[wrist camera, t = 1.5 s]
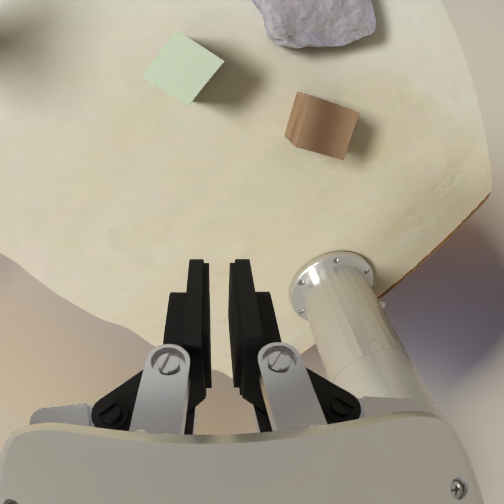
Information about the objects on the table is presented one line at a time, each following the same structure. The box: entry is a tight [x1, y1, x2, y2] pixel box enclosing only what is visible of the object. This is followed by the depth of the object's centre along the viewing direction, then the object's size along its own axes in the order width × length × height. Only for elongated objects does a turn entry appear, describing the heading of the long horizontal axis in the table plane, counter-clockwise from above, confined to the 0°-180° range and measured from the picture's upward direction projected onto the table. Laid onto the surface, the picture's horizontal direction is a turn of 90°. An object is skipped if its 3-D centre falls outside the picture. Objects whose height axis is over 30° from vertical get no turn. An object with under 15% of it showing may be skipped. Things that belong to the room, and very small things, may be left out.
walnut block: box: [285, 92, 359, 160], centre depth 28 cm, size 5×5×5 cm
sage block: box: [142, 31, 224, 106], centre depth 23 cm, size 5×5×5 cm
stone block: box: [252, 0, 376, 49], centre depth 21 cm, size 12×5×10 cm
